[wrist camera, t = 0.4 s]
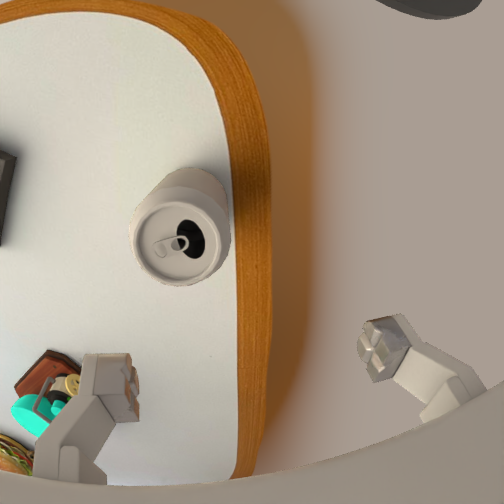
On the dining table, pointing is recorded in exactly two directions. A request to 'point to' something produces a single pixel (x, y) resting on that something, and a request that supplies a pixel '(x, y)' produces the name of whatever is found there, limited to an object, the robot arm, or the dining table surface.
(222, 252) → the can
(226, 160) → the dining table surface
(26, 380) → the contraption on wooden base
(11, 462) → the food
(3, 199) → the scale
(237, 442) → the dining table surface
